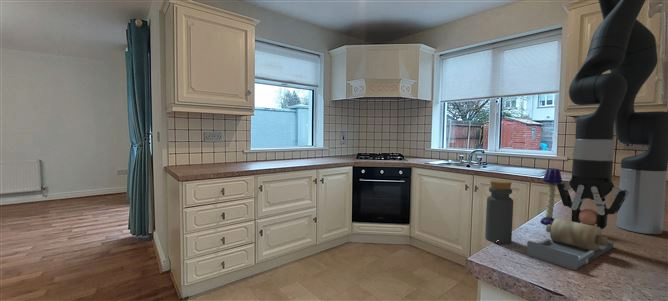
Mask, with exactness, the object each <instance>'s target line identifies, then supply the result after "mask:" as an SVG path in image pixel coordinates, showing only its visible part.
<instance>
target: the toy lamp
mask: <svg viewBox="0 0 668 301" xmlns="http://www.w3.org/2000/svg"><path fill="white" fill-rule="evenodd" d="M542 182H544V183H548V193H547V196H548V197H547V199H546V201H547V203H546V213H545V217H542V218H541V219H540V223H541V224H542V225H546V226H547V225H548V224H551V225H552V223H553V221H554V220H555V219H556V218H553V216H554V214H553V213H554V207H555V204H554V203H555V197H556V193H555V192H556V187H557V184H559V183H563V179H562V174H561V171H560V169H559V168H553V167H552V168H551V167H550V168H549V167H548V168H547V169H546V171H545V174H544V176H543V178H542Z"/></svg>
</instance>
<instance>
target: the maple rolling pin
mask: <svg viewBox="0 0 668 301" xmlns="http://www.w3.org/2000/svg"><path fill="white" fill-rule="evenodd" d="M554 219H555V220H554V221H553V223H552V225H551V224H548V225H546V228H545V230H546V233H549V235H550V240H552V241H555V242H558V243H562V244H566V245H570V246H574V247H577V248H581V249H585V250H589V251H590V250H592V251H594V252H595V251H597V250H598V249H599V247H600V245H602V246H607V243H608V242H609V240H608V239H609V238H608V237H607V236H603V235H602V230H601V229H600V227H596V226H597V225H595V226H591V225H587V224H582V222H581V223H577V222H572V220H567V219H562V218H558V217H557V218H554Z"/></svg>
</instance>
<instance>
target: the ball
mask: <svg viewBox="0 0 668 301" xmlns="http://www.w3.org/2000/svg"><path fill="white" fill-rule="evenodd" d="M598 214H599V213H598V212H597V211H595V210H594V209H590V208H585V209H581V212H580V213H579V220H580V221H581V223H583V224H587V225H591V226H592V225H595V226H596V225H597V215H598Z"/></svg>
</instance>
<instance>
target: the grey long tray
mask: <svg viewBox="0 0 668 301" xmlns="http://www.w3.org/2000/svg"><path fill="white" fill-rule="evenodd" d="M614 244H615V243H614V242H610V241H608V243H607V246H602V245H600V247H599V249H598V250H597V251H595V252H594V251H592V250H590V251H589V250H585V249H581V248H577V247H574V246H570V245H566V244H562V243H558V242H555V241H552V239H551V238H550V239H549V238H545V239H542V240H540V241H539V242H534V241H531V240H528V241H527V244H526V245H527V246H526V256H528V257H532V258H534V259H537V260H538V259H539V260H541V261H545V262H547V263H551V264H553V265H554V264H555V265H556V266H560V267H563V268H567V269H570V270H573V271H578V270H579V269H581V268H582V267H584V266H586V265H587V264H589V263H590V262H592V261H593V260H595V259H597V258H598V257H600V256H601V255H603V254H605V253H606V252H608V251H610V250H611V249H612V248H614Z"/></svg>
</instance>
